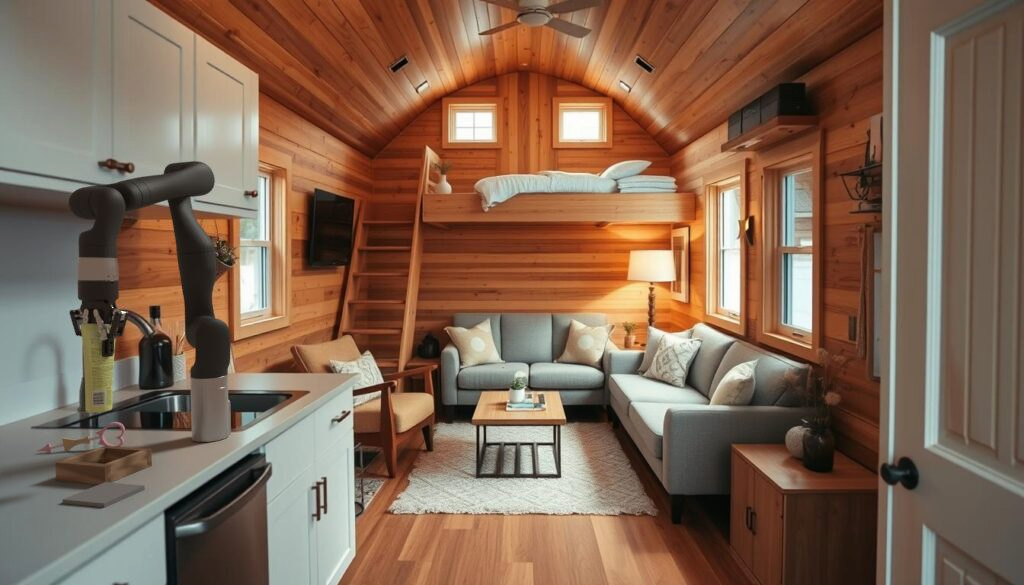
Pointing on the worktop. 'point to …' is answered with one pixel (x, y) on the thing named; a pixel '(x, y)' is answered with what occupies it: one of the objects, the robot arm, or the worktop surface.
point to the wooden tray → (103, 464)
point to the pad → (103, 494)
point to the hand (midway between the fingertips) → (99, 355)
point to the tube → (96, 370)
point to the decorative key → (86, 440)
